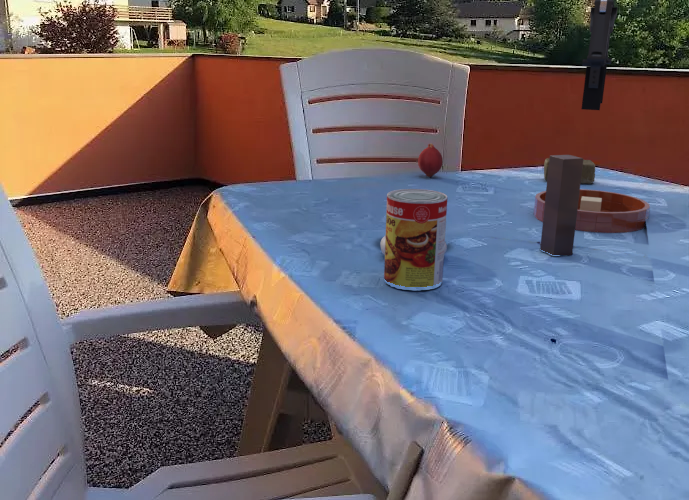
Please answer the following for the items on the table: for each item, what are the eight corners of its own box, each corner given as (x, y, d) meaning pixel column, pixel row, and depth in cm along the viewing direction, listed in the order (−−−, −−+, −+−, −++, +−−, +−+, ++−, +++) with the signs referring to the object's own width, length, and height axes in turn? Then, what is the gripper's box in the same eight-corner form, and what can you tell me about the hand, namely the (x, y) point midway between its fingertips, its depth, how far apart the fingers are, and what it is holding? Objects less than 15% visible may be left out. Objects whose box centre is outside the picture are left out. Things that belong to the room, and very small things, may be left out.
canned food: (384, 271, 100) (387, 187, 96) (441, 273, 99) (446, 189, 96) (382, 290, 92) (386, 200, 89) (443, 293, 92) (449, 202, 88)
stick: (558, 248, 112) (569, 154, 108) (572, 255, 109) (583, 158, 105) (539, 250, 111) (549, 155, 107) (553, 257, 108) (563, 159, 104)
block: (599, 216, 131) (601, 197, 130) (599, 220, 128) (601, 201, 127) (579, 214, 132) (581, 196, 131) (578, 218, 129) (580, 200, 128)
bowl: (644, 214, 135) (647, 194, 134) (648, 241, 117) (652, 217, 116) (539, 205, 141) (541, 185, 140) (527, 228, 124) (529, 206, 123)
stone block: (541, 177, 169) (544, 156, 168) (591, 180, 167) (594, 159, 166) (544, 182, 164) (546, 160, 162) (595, 185, 162) (598, 163, 160)
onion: (422, 173, 171) (423, 140, 169) (445, 176, 169) (447, 142, 167) (413, 177, 166) (415, 143, 164) (437, 180, 164) (439, 145, 162)
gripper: (587, -25, 123) (573, 99, 129) (579, -40, 101) (562, 111, 107) (633, -26, 121) (617, 101, 127) (635, -41, 98) (615, 114, 104)
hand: (592, 106), depth 117 cm, fingers open, 13 cm apart
